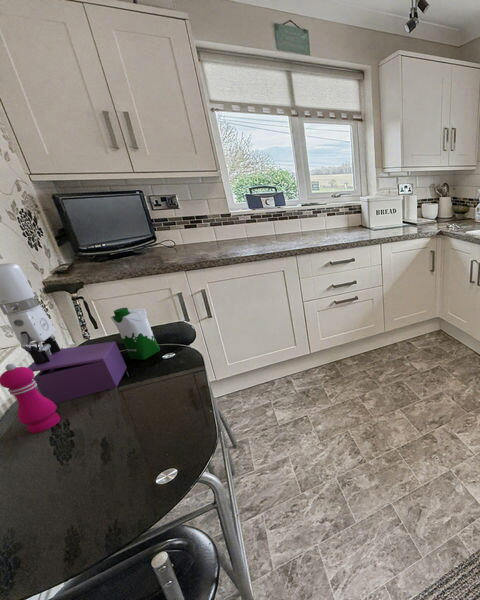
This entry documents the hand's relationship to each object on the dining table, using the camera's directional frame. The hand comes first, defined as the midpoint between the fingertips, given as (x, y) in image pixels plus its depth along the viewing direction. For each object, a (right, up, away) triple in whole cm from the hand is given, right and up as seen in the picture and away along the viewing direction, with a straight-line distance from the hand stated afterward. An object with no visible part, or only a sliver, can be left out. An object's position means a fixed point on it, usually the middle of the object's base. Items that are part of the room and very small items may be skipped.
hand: (49, 357), depth 102 cm
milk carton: (+11, -3, +25) cm, 28 cm away
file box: (+7, -11, +7) cm, 14 cm away
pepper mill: (+11, -17, -11) cm, 23 cm away
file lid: (+5, 0, +3) cm, 6 cm away
